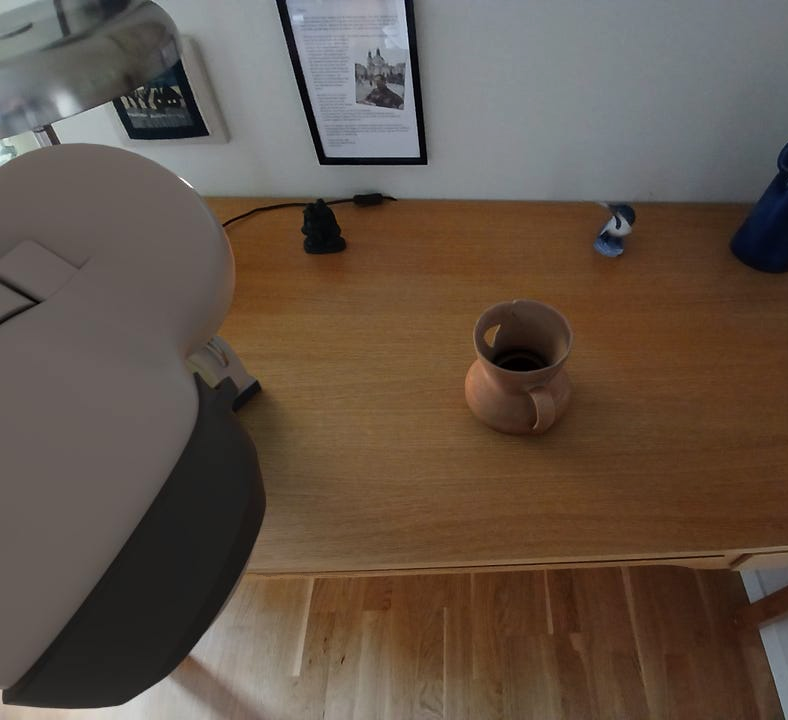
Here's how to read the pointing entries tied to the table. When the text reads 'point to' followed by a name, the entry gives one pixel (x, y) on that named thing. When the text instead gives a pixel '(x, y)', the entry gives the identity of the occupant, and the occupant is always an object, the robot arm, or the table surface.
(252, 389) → the red push button box
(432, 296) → the table surface
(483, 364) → the ceramic jug
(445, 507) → the table surface
